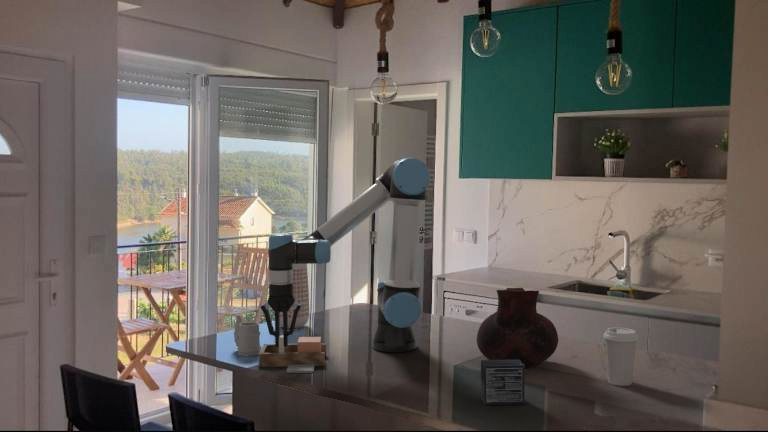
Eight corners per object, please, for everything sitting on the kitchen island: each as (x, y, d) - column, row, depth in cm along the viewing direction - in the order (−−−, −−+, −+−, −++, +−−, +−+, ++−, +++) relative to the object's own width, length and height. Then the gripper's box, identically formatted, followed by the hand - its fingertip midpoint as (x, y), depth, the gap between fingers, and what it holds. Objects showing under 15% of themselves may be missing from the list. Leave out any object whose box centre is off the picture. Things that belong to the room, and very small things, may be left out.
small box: (519, 397, 185) (519, 358, 185) (525, 405, 179) (525, 365, 178) (480, 397, 185) (480, 358, 184) (484, 405, 178) (484, 365, 178)
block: (321, 358, 225) (321, 336, 224) (320, 364, 218) (319, 342, 217) (299, 358, 224) (299, 337, 224) (297, 364, 217) (297, 342, 217)
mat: (314, 366, 215) (314, 364, 215) (313, 372, 208) (313, 370, 208) (288, 366, 214) (288, 364, 214) (286, 373, 207) (286, 371, 207)
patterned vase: (272, 324, 274) (271, 253, 273) (305, 322, 278) (305, 252, 277) (277, 331, 262) (277, 257, 260) (312, 329, 266) (312, 256, 264)
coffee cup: (609, 375, 205) (610, 325, 204) (642, 381, 199) (643, 330, 198) (596, 383, 198) (597, 331, 197) (630, 389, 192) (631, 336, 191)
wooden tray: (326, 355, 227) (326, 343, 227) (324, 365, 215) (324, 353, 215) (264, 356, 227) (264, 344, 226) (258, 366, 214) (258, 353, 214)
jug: (558, 357, 226) (560, 280, 224) (556, 378, 202) (557, 293, 200) (482, 351, 233) (482, 277, 231) (470, 372, 208) (471, 289, 207)
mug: (246, 357, 225) (246, 321, 224) (225, 351, 233) (225, 315, 232) (265, 353, 230) (265, 317, 230) (244, 347, 238) (244, 312, 238)
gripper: (302, 280, 223) (303, 353, 225) (261, 281, 223) (262, 353, 224) (300, 284, 216) (301, 359, 217) (258, 284, 215) (259, 359, 217)
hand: (281, 356), depth 221 cm, fingers closed
